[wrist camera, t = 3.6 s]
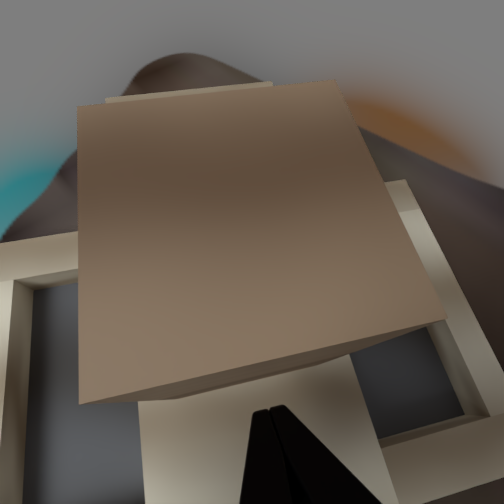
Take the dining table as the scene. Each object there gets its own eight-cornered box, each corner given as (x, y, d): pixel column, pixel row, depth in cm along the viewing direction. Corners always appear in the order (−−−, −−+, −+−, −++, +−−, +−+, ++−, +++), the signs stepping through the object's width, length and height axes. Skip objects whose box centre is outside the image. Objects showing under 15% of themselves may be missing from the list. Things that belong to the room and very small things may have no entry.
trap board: (548, 536, 13) (668, 589, 10) (-34, 748, 10) (-184, 947, 6) (353, 123, 22) (377, 70, 19) (17, 165, 19) (-32, 111, 16)
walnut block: (317, 365, 14) (448, 318, 5) (176, 399, 13) (79, 403, 5) (281, 242, 16) (335, 79, 8) (160, 263, 15) (77, 106, 7)
